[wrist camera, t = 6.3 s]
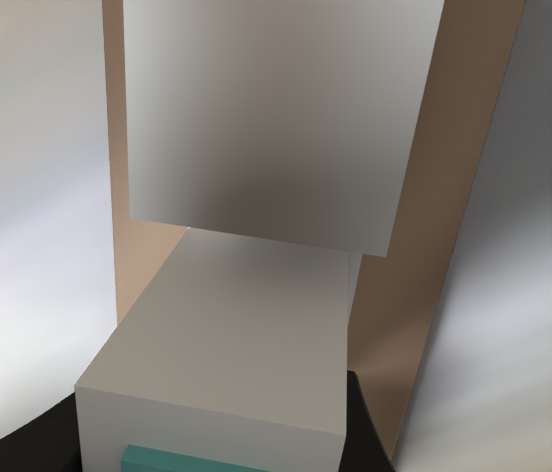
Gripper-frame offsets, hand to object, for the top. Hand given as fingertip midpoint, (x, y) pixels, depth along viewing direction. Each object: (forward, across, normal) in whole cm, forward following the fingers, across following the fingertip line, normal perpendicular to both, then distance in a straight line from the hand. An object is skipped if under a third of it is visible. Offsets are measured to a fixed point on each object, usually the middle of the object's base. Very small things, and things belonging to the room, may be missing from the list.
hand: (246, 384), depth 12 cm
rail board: (+5, 0, 0) cm, 5 cm away
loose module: (+2, 0, 0) cm, 2 cm away
